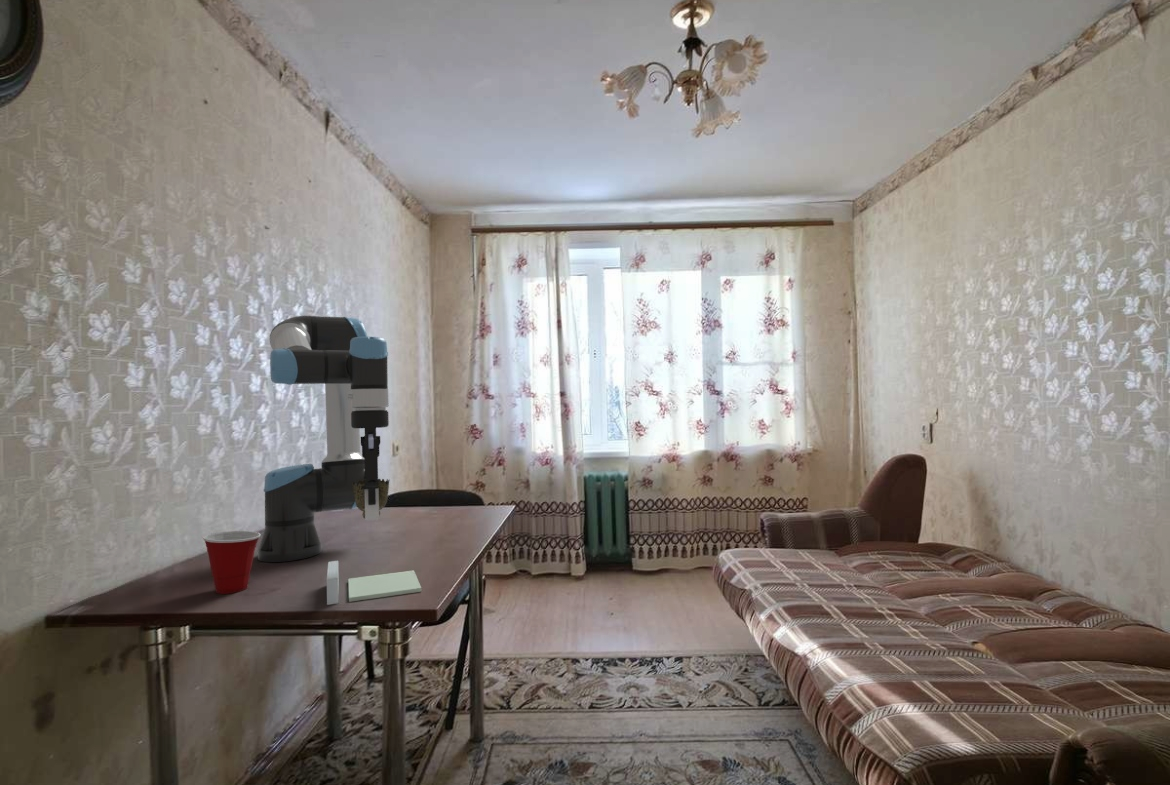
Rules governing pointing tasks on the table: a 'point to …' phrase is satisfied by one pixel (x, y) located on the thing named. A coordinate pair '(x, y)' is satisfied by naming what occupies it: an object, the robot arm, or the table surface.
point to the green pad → (383, 585)
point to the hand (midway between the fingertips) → (371, 516)
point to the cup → (360, 494)
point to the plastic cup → (231, 559)
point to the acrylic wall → (332, 583)
